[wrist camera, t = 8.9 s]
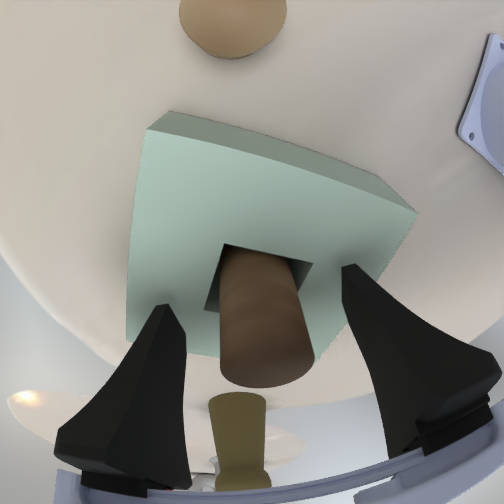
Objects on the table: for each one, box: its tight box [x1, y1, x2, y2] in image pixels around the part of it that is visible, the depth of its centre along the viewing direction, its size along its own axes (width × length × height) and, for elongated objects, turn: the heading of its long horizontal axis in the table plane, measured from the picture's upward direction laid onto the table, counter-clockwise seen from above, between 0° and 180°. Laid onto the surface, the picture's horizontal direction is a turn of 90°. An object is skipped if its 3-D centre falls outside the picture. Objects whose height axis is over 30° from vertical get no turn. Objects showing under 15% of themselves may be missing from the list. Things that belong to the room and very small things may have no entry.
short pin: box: [179, 0, 287, 59], centre depth 8 cm, size 3×3×4 cm
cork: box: [208, 392, 272, 492], centre depth 23 cm, size 6×6×11 cm
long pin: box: [219, 243, 315, 388], centre depth 13 cm, size 3×3×8 cm
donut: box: [187, 474, 216, 492], centre depth 49 cm, size 10×3×10 cm, turn 61°
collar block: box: [126, 111, 418, 363], centre depth 14 cm, size 11×11×4 cm
